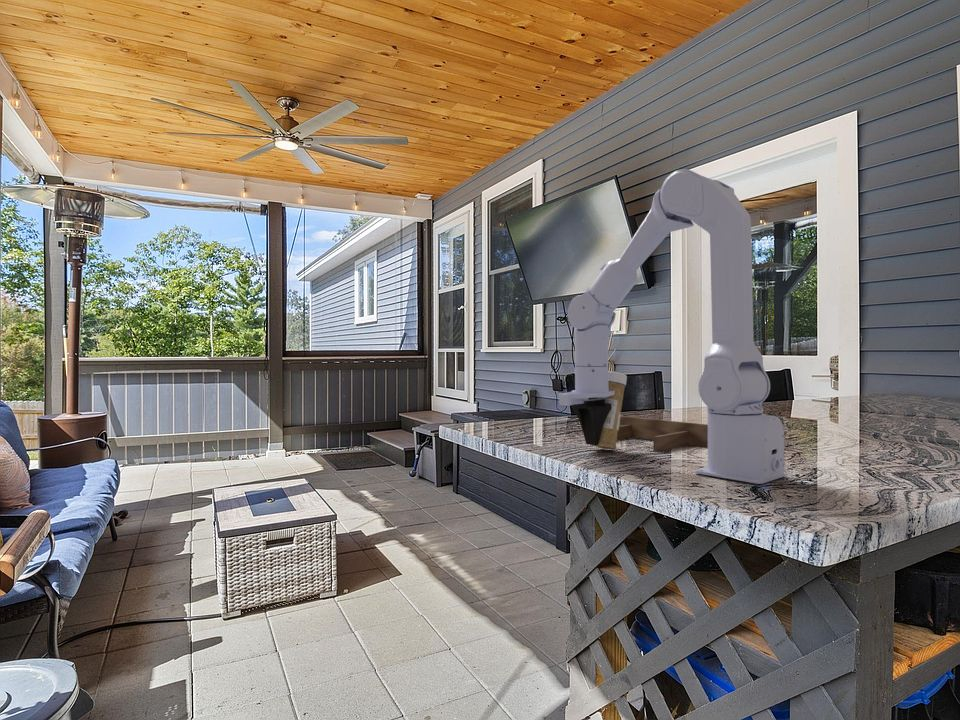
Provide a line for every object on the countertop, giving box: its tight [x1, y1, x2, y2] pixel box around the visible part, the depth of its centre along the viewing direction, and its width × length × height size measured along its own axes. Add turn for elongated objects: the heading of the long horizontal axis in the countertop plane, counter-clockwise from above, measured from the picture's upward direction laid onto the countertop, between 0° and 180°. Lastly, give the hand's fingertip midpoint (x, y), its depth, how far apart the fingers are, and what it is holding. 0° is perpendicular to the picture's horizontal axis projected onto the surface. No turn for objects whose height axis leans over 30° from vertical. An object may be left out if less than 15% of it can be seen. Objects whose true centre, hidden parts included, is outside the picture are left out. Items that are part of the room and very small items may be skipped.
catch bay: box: [617, 415, 708, 452], centre depth 111 cm, size 22×11×4 cm, turn 39°
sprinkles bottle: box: [592, 370, 628, 450], centre depth 104 cm, size 5×5×13 cm
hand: (592, 444), depth 102 cm, fingers closed
